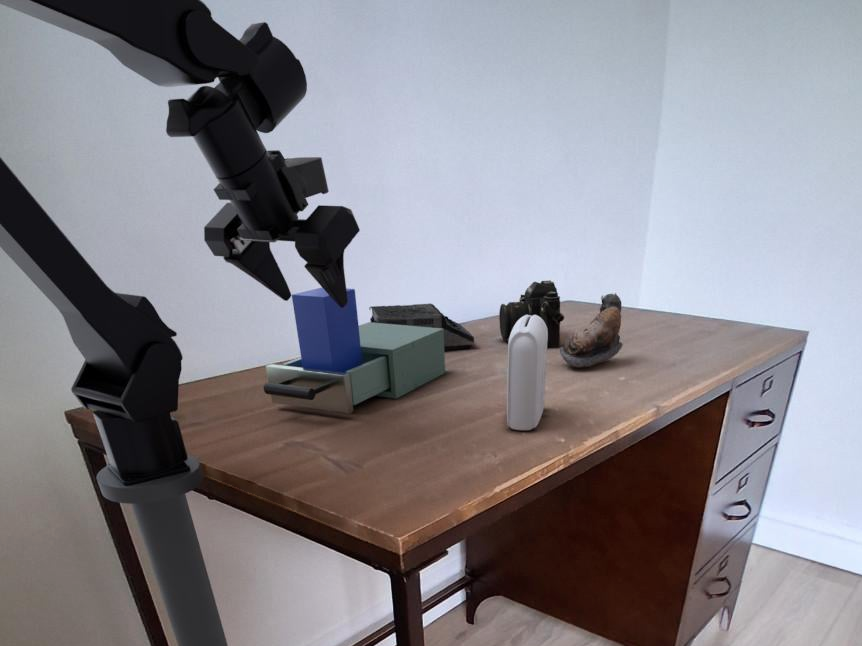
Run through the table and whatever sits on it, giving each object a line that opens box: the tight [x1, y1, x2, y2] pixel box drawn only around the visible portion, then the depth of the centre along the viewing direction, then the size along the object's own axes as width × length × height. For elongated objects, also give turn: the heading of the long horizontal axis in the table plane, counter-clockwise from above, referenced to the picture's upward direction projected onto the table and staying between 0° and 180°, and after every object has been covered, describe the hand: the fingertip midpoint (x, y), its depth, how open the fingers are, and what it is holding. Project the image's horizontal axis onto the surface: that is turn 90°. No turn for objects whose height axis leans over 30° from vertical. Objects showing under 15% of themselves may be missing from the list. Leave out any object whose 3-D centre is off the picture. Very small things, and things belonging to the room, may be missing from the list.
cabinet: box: [358, 321, 446, 399], centre depth 102 cm, size 16×14×7 cm
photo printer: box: [506, 315, 548, 431], centre depth 84 cm, size 10×4×12 cm, turn 169°
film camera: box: [498, 279, 565, 348], centre depth 123 cm, size 18×12×10 cm
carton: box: [291, 287, 362, 373], centre depth 90 cm, size 7×5×12 cm
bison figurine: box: [559, 292, 624, 369], centre depth 108 cm, size 12×7×10 cm, turn 135°
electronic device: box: [368, 303, 475, 352], centre depth 122 cm, size 12×17×6 cm
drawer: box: [263, 352, 391, 414], centre depth 91 cm, size 19×12×5 cm, turn 156°
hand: (315, 301), depth 79 cm, fingers open, 9 cm apart
